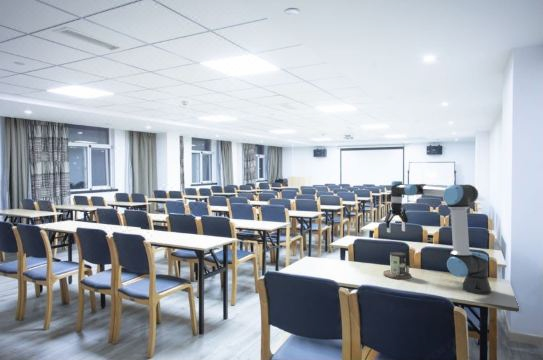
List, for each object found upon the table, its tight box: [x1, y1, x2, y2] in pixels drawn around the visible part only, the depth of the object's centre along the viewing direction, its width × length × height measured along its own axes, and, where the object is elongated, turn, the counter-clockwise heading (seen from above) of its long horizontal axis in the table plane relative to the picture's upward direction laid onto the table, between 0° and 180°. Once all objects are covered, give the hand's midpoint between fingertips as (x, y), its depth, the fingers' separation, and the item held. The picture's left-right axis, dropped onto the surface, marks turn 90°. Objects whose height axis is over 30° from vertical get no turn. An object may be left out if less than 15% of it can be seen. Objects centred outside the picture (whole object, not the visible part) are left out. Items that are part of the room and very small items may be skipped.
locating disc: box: [382, 265, 412, 281], centre depth 253 cm, size 18×18×8 cm
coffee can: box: [389, 251, 406, 276], centre depth 252 cm, size 10×10×14 cm
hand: (396, 231), depth 263 cm, fingers open, 13 cm apart
